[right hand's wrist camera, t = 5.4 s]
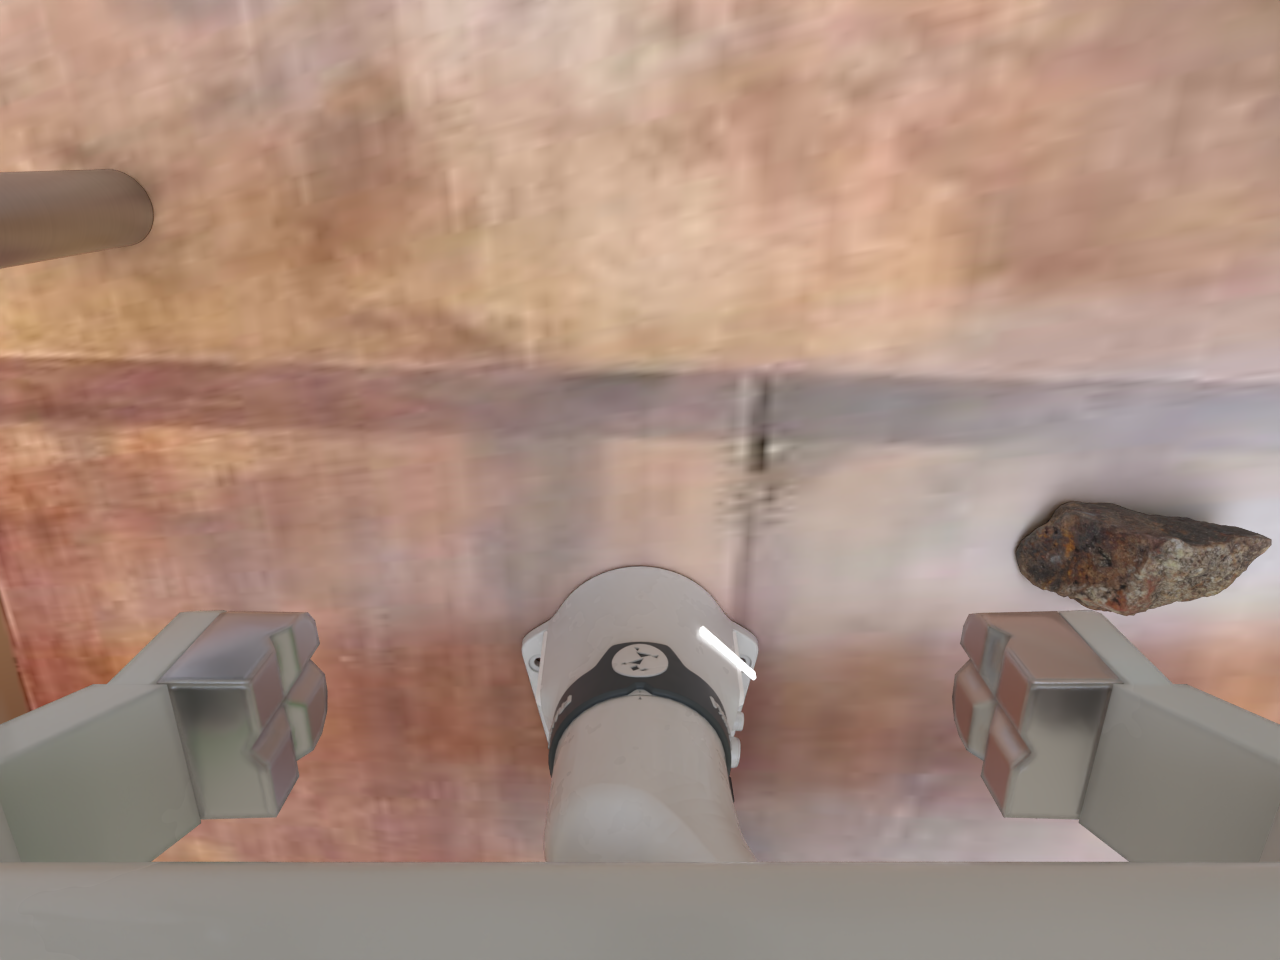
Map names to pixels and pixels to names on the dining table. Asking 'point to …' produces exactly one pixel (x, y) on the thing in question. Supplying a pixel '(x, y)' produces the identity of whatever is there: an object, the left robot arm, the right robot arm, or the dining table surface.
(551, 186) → the dining table surface
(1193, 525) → the rock
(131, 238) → the silver canister
